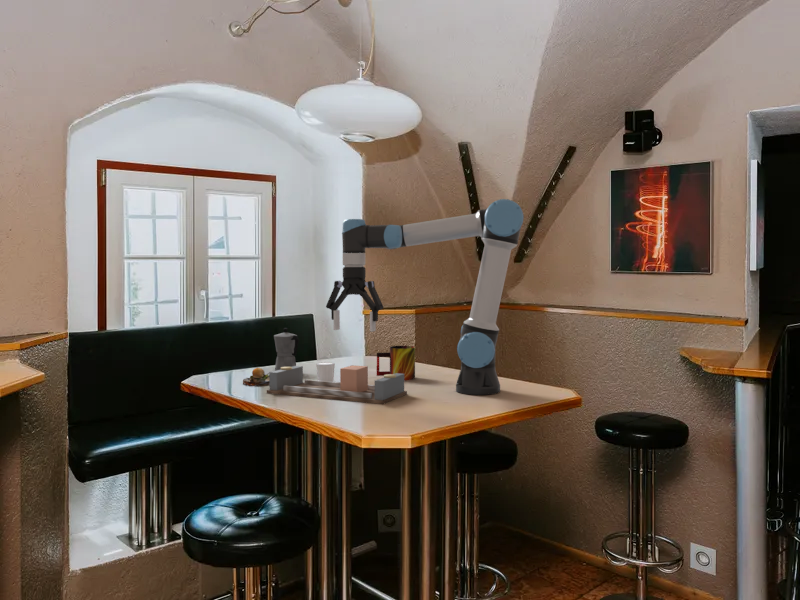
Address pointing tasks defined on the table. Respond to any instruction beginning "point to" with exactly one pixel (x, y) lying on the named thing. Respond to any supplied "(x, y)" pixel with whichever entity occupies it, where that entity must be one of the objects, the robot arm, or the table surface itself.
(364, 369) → the salmon pink box
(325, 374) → the white cup
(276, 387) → the knobbed grey end panels
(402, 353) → the mug
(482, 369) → the robot arm
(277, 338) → the coffeepot
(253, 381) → the burger
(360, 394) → the rail track
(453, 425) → the table surface
